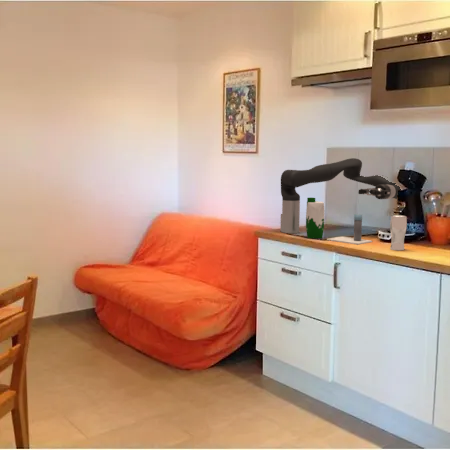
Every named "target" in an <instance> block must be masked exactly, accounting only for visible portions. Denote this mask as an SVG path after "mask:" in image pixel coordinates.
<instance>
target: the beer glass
mask: <svg viewBox="0 0 450 450" xmlns="http://www.w3.org/2000/svg"><path fill="white" fill-rule="evenodd" d="M407 219H408V217H407V216H406V215H402V214H397V215H394V214H393V215H391V216H390V222H389V223H390V225H389V229H390V236H391V238H390V239H391V242H390V243H391V244H390V250H392V251H405V236H406V233H407V227H408V226H407V225H408V224H407V222H408V220H407Z"/></svg>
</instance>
